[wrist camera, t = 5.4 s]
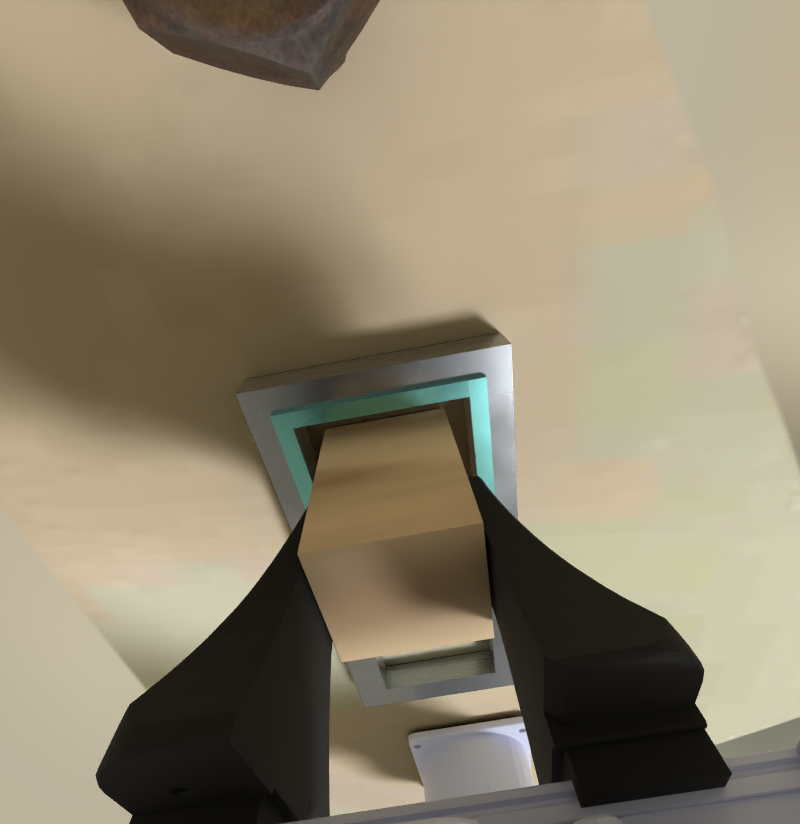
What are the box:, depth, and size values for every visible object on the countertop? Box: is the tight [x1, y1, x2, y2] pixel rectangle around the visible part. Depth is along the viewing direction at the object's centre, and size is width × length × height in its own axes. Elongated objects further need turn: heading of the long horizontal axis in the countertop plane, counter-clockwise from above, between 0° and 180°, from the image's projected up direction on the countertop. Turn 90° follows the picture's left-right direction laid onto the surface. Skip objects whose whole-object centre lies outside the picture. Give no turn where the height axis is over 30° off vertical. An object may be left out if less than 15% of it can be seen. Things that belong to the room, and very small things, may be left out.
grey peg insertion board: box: [235, 333, 518, 708], centre depth 18 cm, size 20×9×1 cm, turn 10°
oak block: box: [297, 408, 494, 662], centre depth 13 cm, size 4×4×6 cm
